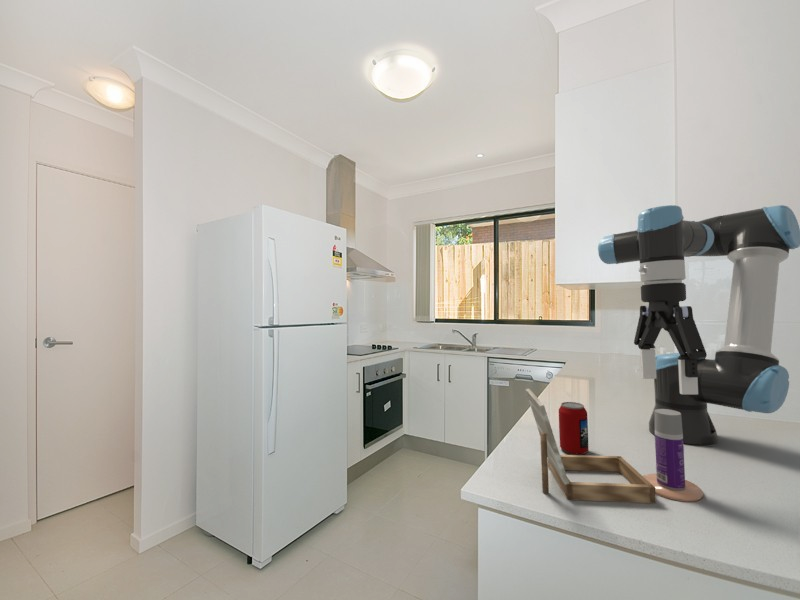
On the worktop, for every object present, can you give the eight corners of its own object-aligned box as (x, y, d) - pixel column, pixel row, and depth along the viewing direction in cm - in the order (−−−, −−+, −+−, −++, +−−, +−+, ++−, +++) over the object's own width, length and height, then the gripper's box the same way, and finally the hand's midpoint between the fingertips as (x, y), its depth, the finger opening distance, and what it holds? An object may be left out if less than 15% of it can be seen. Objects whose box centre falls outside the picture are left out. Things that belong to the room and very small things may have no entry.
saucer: (682, 477, 78) (682, 474, 78) (716, 502, 68) (715, 499, 68) (632, 475, 79) (632, 473, 79) (658, 500, 69) (658, 497, 69)
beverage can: (592, 457, 89) (590, 408, 89) (563, 455, 90) (561, 408, 91) (584, 446, 96) (582, 401, 96) (557, 445, 97) (555, 400, 97)
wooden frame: (621, 469, 82) (617, 388, 82) (655, 503, 68) (651, 405, 69) (528, 466, 85) (525, 388, 85) (543, 498, 71) (540, 405, 71)
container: (687, 493, 70) (683, 416, 71) (657, 487, 73) (654, 413, 73) (683, 482, 74) (680, 410, 75) (656, 477, 77) (652, 407, 77)
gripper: (615, 286, 87) (619, 373, 87) (680, 280, 62) (686, 402, 62) (648, 284, 86) (653, 373, 86) (729, 277, 61) (735, 402, 61)
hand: (667, 385), depth 74 cm, fingers open, 13 cm apart
